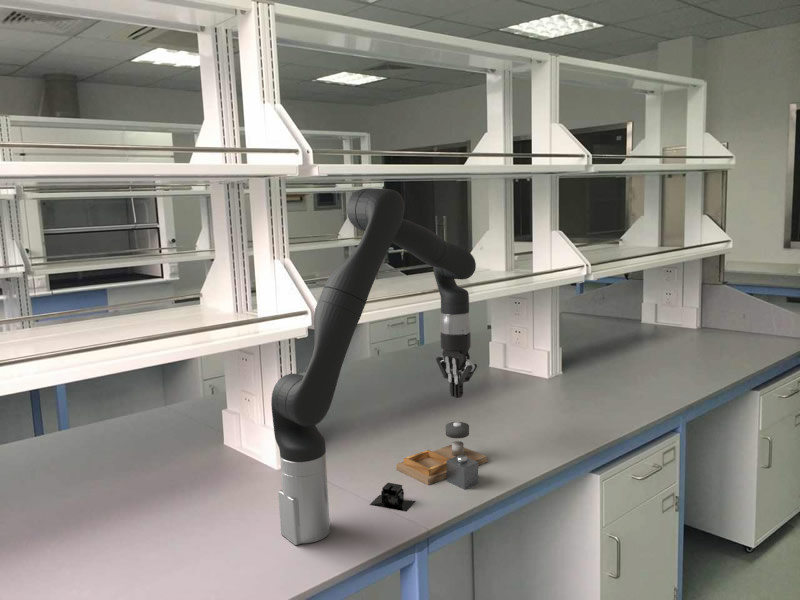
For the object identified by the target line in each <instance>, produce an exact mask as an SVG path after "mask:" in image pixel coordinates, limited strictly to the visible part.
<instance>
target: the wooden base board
mask: <svg viewBox="0 0 800 600" xmlns="http://www.w3.org/2000/svg"><path fill="white" fill-rule="evenodd" d="M459 455H465V456H467V458H469V459H472V460H474V461H476V462H478V466H480V465H483V464H485V463H487V462H488V456H487V455H484V454H482V453H479V452H477V451H474V450H472V449H469V448H466V447H465V445H464V442H463V441H459V440H456V441H452V442H451V444H449V445H446V446H444V447H441V448H438V449H436V450H431V449H427V450H424V451H423V450H422V451H420V452H417V453H415V454H412V455H409V456H406V457H404V458H403V461H401V462H399V463H396V471H398V472H400V473H402V474H404V475H406V476H408V477H410V478H413V479H414V480H416V481H419V482H421V483H423V484H424V485H426V486H429V485H432V484H434V483H437V482H440V481H442V480H444V479H447V461H446V460H448V459H451V458H453V457H456V456H459Z"/></svg>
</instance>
